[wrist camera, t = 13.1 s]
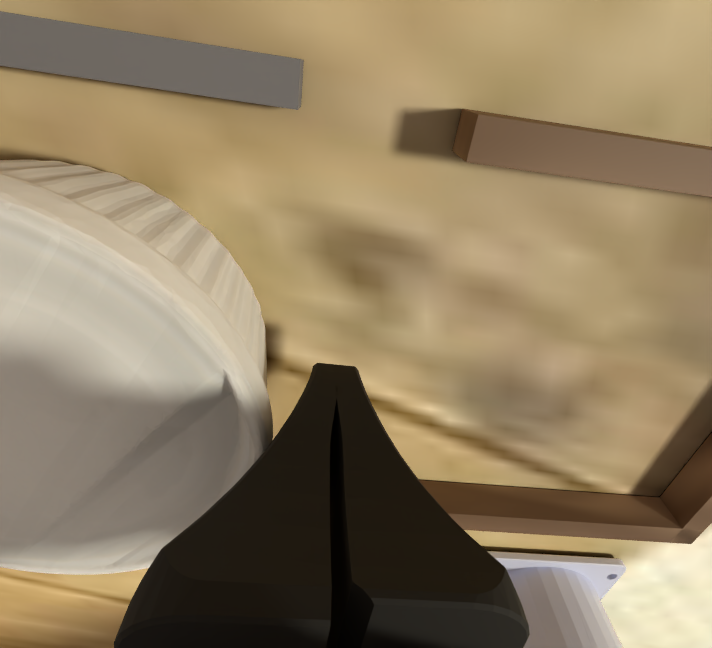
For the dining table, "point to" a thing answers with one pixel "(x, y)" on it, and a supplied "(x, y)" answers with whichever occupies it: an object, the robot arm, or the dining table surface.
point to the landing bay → (149, 61)
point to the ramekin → (117, 370)
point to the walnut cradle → (615, 165)
